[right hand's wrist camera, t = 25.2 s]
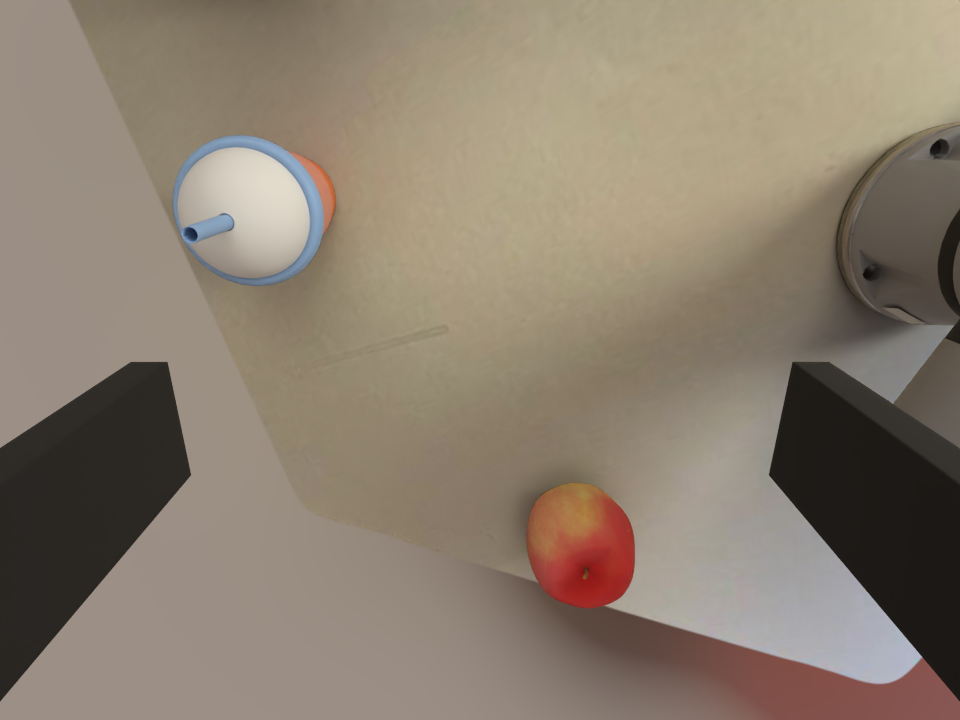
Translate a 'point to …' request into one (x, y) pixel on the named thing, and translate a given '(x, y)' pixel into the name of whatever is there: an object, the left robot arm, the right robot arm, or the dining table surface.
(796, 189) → the dining table surface
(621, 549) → the apple
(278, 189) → the cup with straw
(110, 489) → the right robot arm
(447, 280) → the dining table surface
